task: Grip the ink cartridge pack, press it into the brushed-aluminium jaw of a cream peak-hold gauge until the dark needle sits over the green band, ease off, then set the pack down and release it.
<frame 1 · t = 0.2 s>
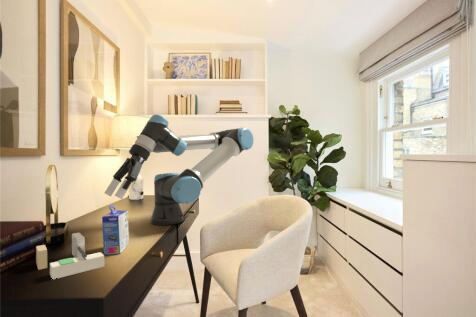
hand: (112, 196, 99), 16 cm above the table, tool tilted 35°, fingers open, 13 cm apart
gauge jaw: (81, 249, 78), point 3 cm above the table, slide at 0.0 cm
ink cartridge box: (116, 250, 88), on the table
gauge base: (73, 263, 77), on the table
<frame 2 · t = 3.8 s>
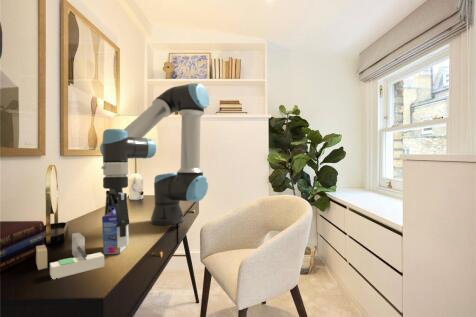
hand: (116, 242, 88), 2 cm above the table, tool pointing down, fingers closed on ink cartridge box, 11 cm apart
ink cartridge box: (116, 250, 88), on the table, touching gripper
everything else where it was.
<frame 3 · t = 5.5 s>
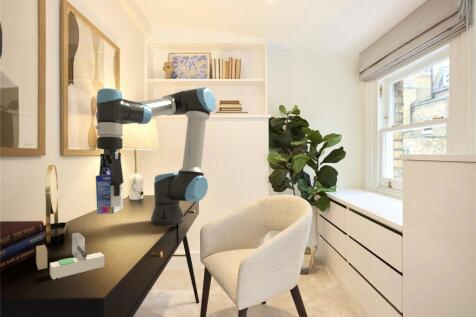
hand: (110, 204, 87), 15 cm above the table, tool pointing down, fingers closed on ink cartridge box, 11 cm apart
ink cartridge box: (110, 212, 87), point 13 cm above the table, touching gripper
everything else where it was.
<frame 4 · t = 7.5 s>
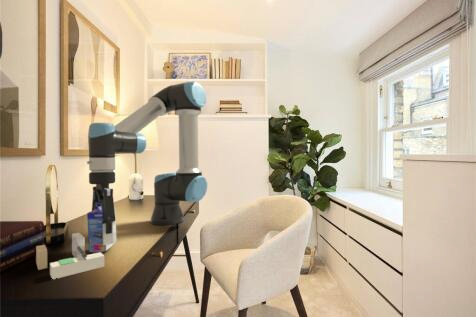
hand: (102, 240, 86), 4 cm above the table, tool pointing down, fingers closed on ink cartridge box, 11 cm apart
ink cartridge box: (102, 247, 86), point 1 cm above the table, touching gripper
everything else where it was.
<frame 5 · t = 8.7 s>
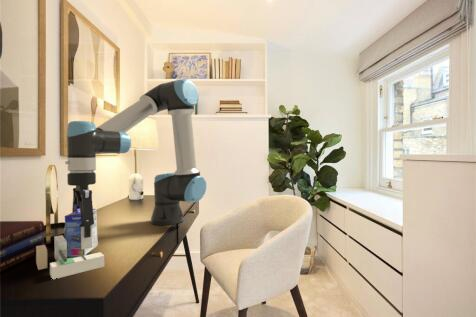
hand: (82, 243, 82), 4 cm above the table, tool pointing down, fingers closed on ink cartridge box, 11 cm apart
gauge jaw: (62, 253, 75), point 3 cm above the table, slide at 4.5 cm, touching ink cartridge box
ink cartridge box: (82, 251, 82), point 2 cm above the table, touching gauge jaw, gripper
when the fingers open (3 cm above the table, at t = 11.2 s): ink cartridge box drops 1 cm, on the table.
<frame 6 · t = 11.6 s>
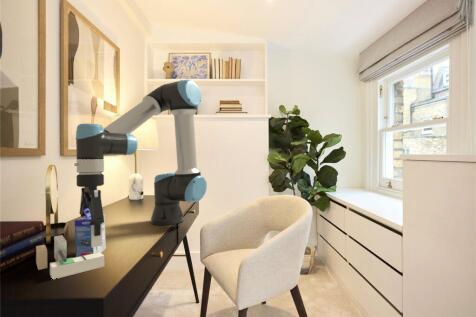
hand: (91, 241, 83), 4 cm above the table, tool pointing down, fingers open, 13 cm apart
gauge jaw: (62, 253, 75), point 4 cm above the table, slide at 4.6 cm
ink cartridge box: (91, 255, 83), on the table
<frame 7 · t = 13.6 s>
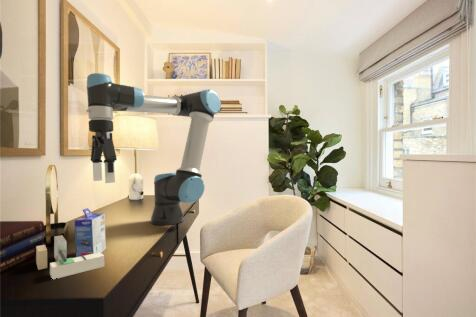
hand: (103, 181, 92), 22 cm above the table, tool pointing down, fingers open, 13 cm apart
nothing on the table moved.
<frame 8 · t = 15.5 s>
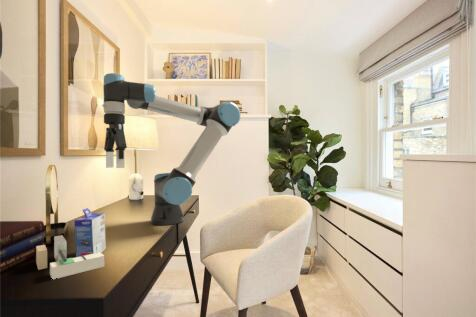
hand: (114, 167, 105), 27 cm above the table, tool pointing down, fingers open, 13 cm apart
nothing on the table moved.
at the end: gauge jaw slide at 4.6 cm; ink cartridge box tilted 0°; the gripper is holding nothing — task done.
